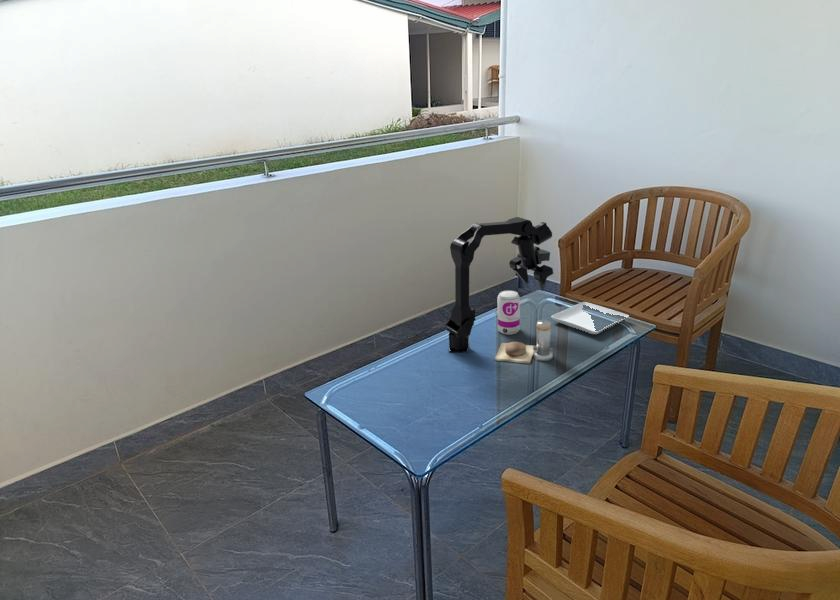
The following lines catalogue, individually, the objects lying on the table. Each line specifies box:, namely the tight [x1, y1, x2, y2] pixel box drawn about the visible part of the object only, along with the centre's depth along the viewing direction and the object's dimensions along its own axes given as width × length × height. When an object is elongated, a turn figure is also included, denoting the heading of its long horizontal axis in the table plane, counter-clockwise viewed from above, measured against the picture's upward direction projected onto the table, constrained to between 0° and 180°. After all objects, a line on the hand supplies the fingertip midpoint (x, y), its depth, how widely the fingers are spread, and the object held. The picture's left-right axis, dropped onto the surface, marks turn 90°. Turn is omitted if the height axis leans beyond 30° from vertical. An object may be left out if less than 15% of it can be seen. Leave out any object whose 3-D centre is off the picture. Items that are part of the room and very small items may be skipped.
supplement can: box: [496, 289, 521, 335], centre depth 223 cm, size 8×8×15 cm
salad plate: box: [551, 301, 630, 335], centre depth 228 cm, size 21×21×3 cm
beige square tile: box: [494, 341, 535, 364], centre depth 208 cm, size 12×12×3 cm
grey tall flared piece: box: [532, 318, 554, 362], centre depth 203 cm, size 7×6×13 cm
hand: (535, 286), depth 224 cm, fingers open, 9 cm apart
